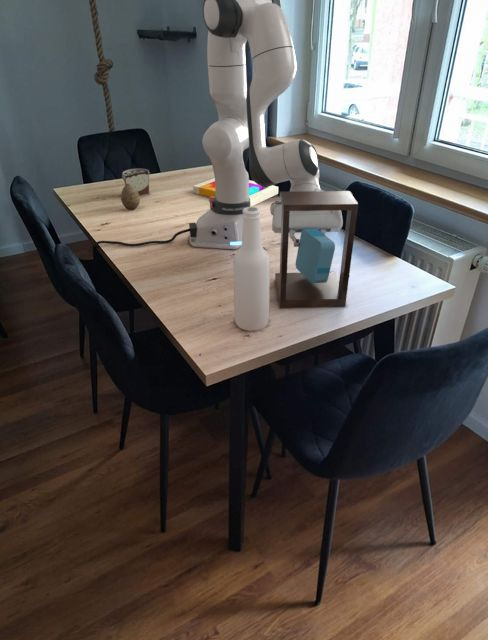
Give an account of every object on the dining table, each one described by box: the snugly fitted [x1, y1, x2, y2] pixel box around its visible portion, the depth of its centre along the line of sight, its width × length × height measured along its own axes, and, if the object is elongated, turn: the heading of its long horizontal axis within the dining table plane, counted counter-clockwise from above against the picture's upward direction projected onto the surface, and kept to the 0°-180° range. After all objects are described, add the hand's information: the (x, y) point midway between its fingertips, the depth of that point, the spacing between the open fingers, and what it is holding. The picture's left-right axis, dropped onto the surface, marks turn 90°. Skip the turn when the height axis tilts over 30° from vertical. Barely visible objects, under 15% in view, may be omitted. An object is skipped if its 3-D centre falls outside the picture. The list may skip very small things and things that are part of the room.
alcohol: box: [232, 206, 271, 332], centre depth 117 cm, size 9×9×30 cm
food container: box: [121, 168, 151, 198], centre depth 204 cm, size 12×6×10 cm, turn 133°
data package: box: [295, 229, 336, 283], centre depth 135 cm, size 12×4×12 cm, turn 22°
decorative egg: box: [120, 184, 141, 211], centre depth 190 cm, size 7×7×10 cm
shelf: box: [274, 190, 359, 309], centre depth 130 cm, size 18×16×28 cm
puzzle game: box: [192, 177, 279, 207], centre depth 206 cm, size 30×3×30 cm
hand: (308, 246), depth 138 cm, fingers closed on data package, 5 cm apart
